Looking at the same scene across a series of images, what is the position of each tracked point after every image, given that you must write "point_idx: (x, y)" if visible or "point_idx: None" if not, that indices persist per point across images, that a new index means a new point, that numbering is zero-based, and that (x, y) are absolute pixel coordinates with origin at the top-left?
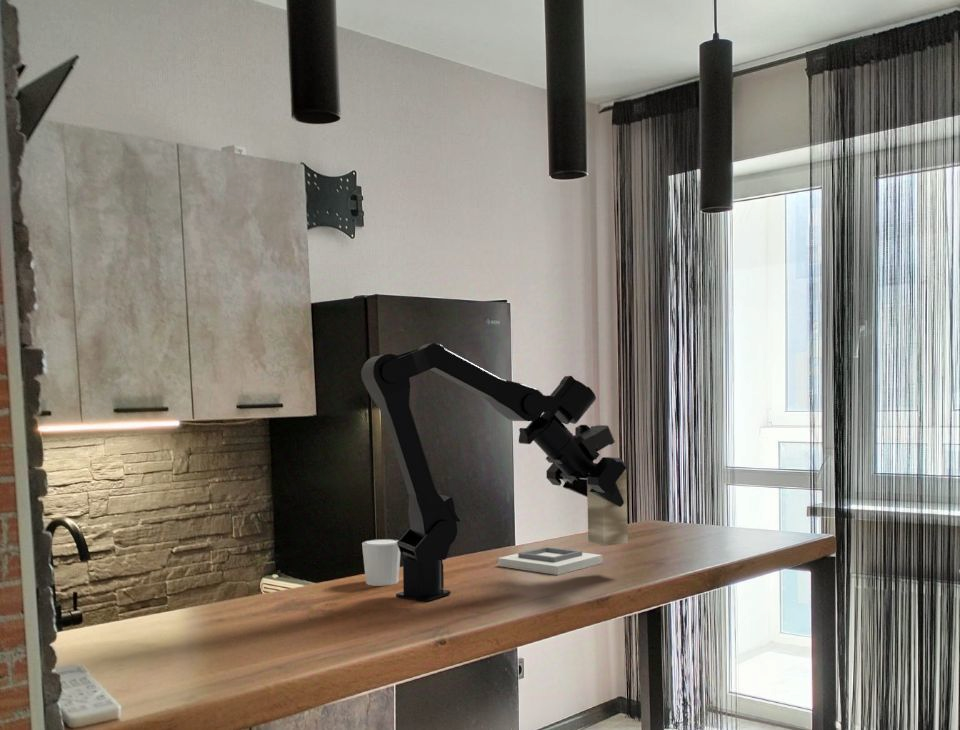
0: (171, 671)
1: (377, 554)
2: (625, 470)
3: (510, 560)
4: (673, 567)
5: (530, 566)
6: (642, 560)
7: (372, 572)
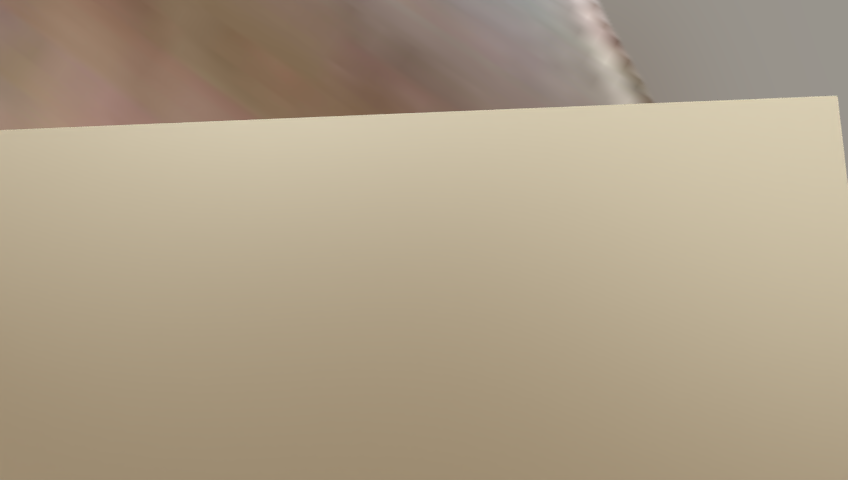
0: None
1: None
2: (806, 139)
3: None
4: (500, 60)
5: None
6: (330, 84)
7: None
